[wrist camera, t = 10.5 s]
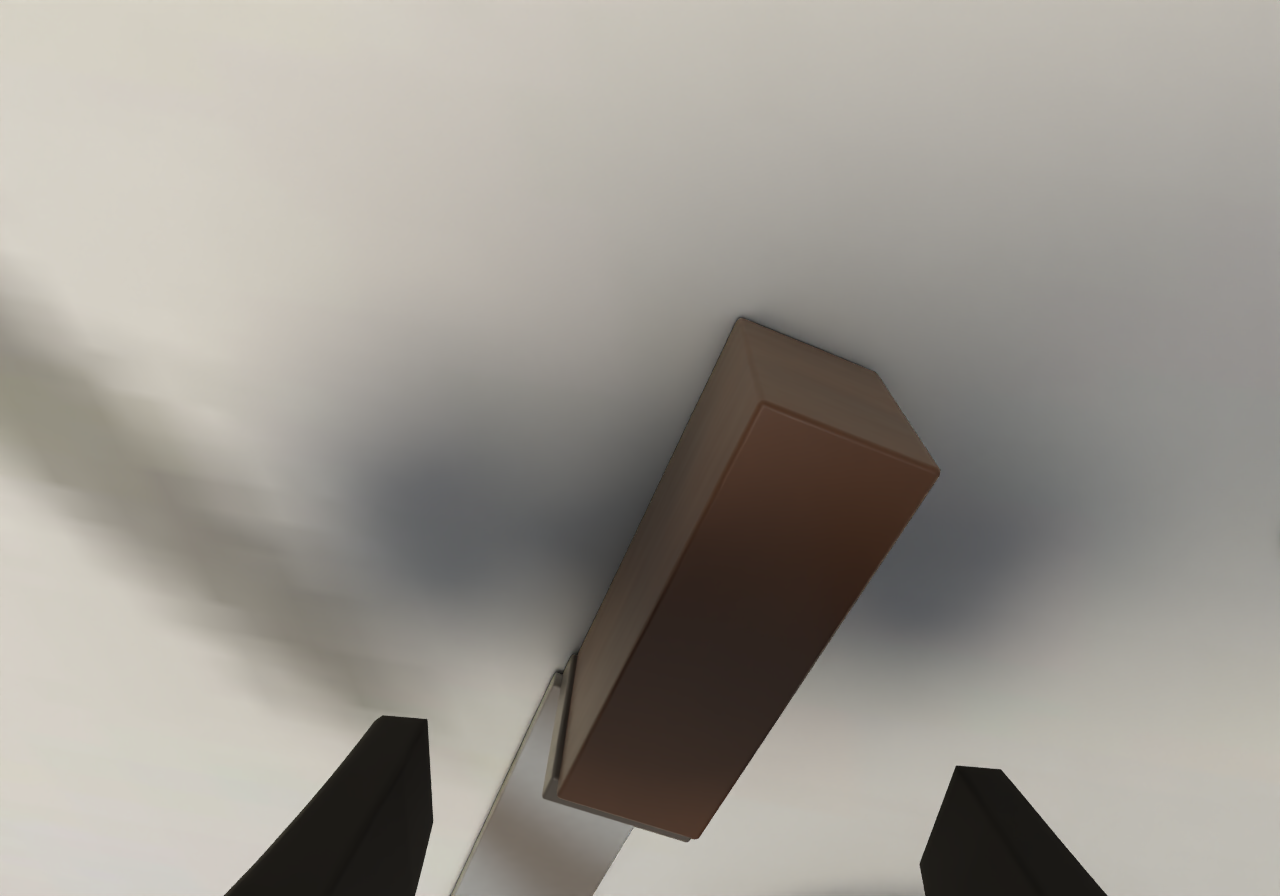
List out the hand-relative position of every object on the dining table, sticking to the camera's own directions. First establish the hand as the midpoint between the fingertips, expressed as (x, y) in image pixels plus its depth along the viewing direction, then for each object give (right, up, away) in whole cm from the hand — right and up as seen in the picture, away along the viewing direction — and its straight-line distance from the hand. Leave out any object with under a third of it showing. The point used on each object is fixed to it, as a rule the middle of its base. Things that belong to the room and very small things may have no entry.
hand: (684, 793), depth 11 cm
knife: (-1, -1, +5) cm, 6 cm away
